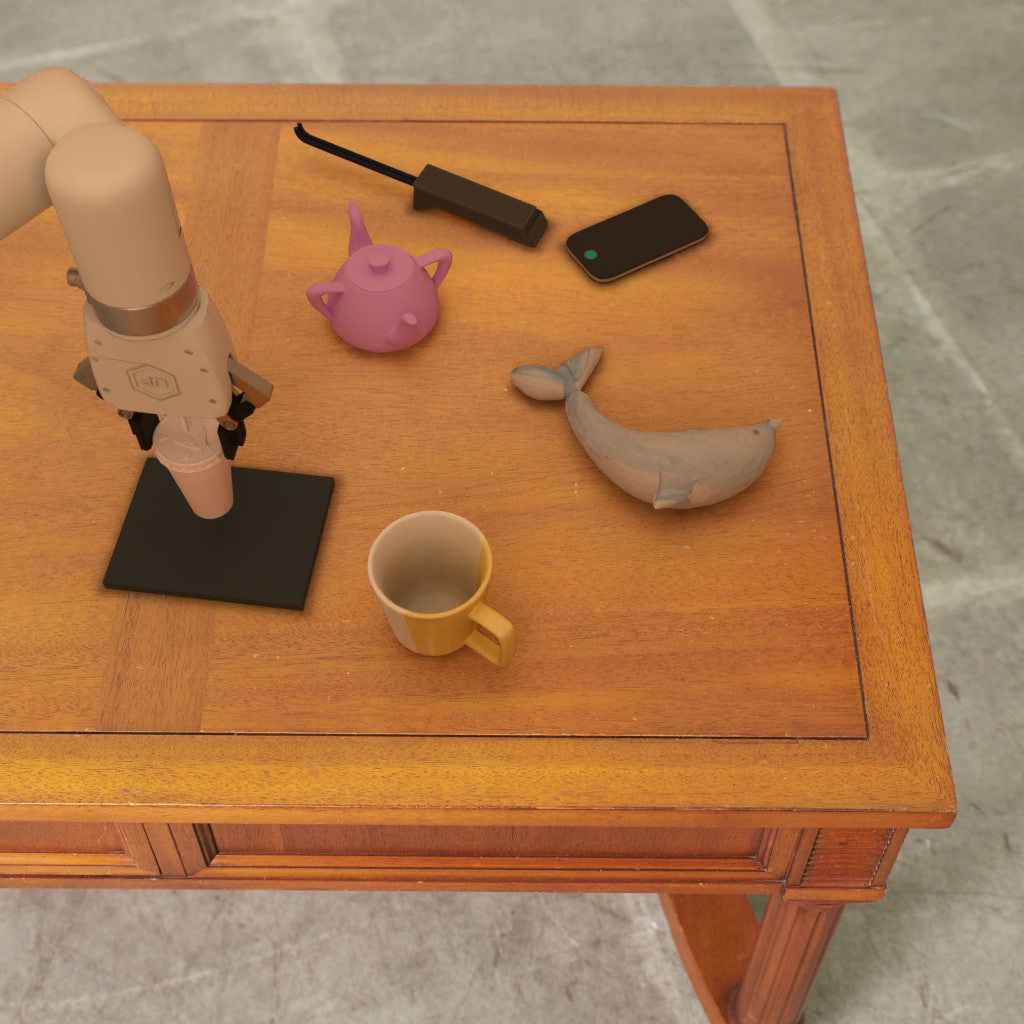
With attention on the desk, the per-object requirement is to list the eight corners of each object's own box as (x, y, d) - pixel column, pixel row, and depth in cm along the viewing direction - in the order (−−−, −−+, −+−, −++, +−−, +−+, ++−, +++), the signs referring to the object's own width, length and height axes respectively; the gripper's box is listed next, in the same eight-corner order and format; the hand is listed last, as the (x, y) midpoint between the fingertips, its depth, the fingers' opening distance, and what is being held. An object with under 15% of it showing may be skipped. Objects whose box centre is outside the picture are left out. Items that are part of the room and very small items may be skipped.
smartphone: (560, 237, 138) (674, 189, 142) (560, 243, 138) (673, 195, 143) (599, 282, 134) (714, 230, 138) (598, 288, 135) (713, 236, 139)
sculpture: (637, 283, 131) (820, 412, 117) (631, 342, 136) (804, 471, 123) (500, 347, 123) (678, 493, 109) (499, 407, 128) (669, 553, 115)
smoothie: (219, 460, 115) (188, 358, 104) (263, 502, 113) (237, 402, 101) (161, 500, 113) (123, 400, 101) (205, 544, 110) (171, 447, 99)
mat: (104, 588, 114) (101, 582, 113) (149, 462, 122) (146, 456, 121) (303, 611, 113) (301, 605, 112) (335, 483, 120) (333, 476, 120)
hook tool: (546, 235, 141) (305, 139, 145) (550, 212, 138) (304, 114, 142) (532, 257, 139) (289, 160, 143) (536, 234, 136) (287, 134, 140)
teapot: (358, 261, 137) (350, 198, 129) (473, 304, 133) (471, 241, 126) (299, 335, 131) (288, 273, 123) (418, 382, 127) (414, 321, 120)
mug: (354, 615, 112) (342, 552, 104) (447, 555, 116) (443, 488, 107) (446, 728, 106) (442, 671, 98) (541, 661, 110) (545, 600, 101)
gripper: (6, 315, 89) (76, 466, 104) (249, 340, 88) (285, 489, 103) (42, 239, 93) (104, 395, 108) (274, 262, 92) (305, 417, 107)
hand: (192, 440), depth 105 cm, fingers closed on smoothie, 6 cm apart
